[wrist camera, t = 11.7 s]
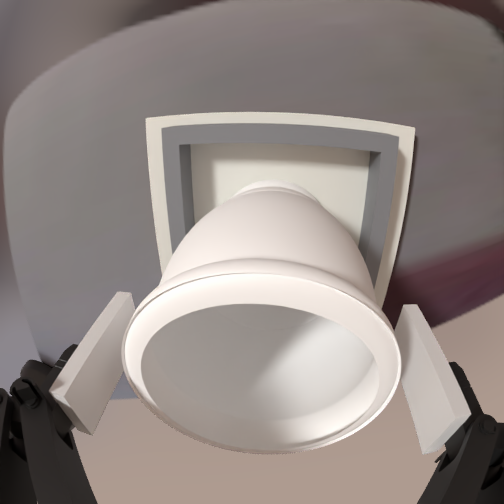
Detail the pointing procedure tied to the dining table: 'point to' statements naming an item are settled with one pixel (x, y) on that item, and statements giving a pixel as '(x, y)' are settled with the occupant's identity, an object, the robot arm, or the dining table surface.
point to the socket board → (283, 173)
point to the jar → (264, 329)
